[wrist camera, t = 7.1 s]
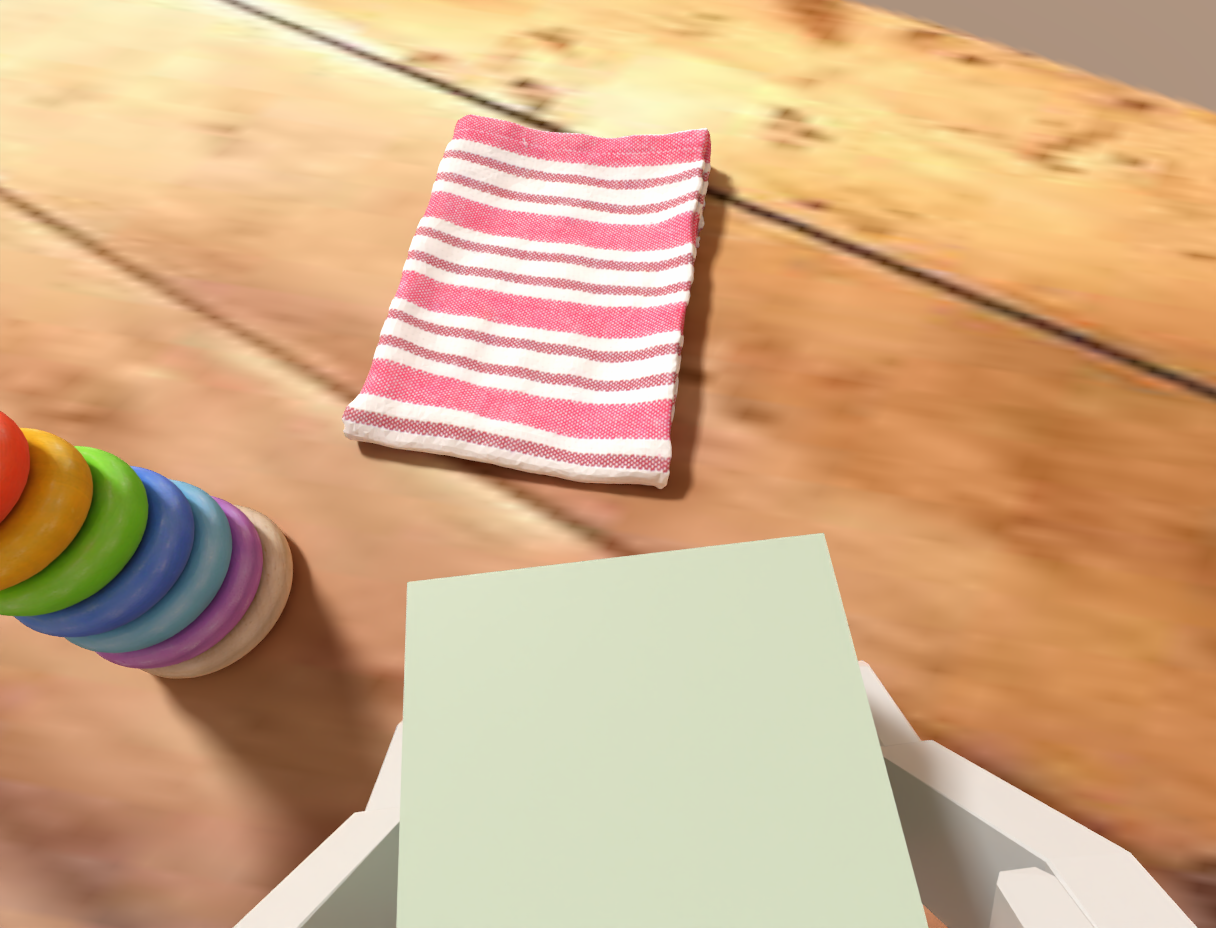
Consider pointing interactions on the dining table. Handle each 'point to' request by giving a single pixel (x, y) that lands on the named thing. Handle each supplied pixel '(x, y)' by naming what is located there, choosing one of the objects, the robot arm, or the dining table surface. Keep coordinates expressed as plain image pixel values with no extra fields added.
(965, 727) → the dining table surface
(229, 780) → the dining table surface
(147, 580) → the stacking toy
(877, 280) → the dining table surface
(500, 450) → the dish towel
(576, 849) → the pillar
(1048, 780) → the dining table surface
